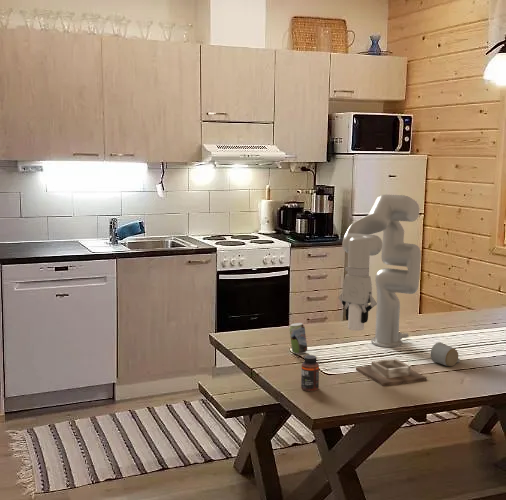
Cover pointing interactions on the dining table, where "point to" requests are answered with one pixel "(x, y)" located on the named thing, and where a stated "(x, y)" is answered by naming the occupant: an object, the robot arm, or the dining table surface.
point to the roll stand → (390, 372)
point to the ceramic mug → (444, 354)
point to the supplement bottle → (310, 374)
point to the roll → (355, 317)
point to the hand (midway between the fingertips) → (356, 320)
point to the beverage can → (298, 338)
